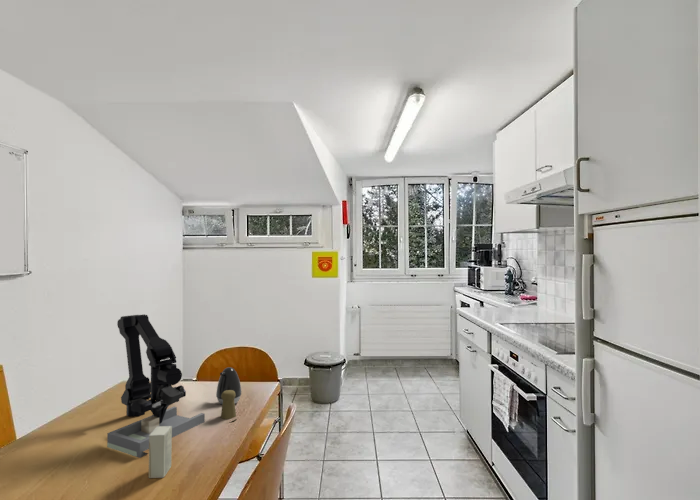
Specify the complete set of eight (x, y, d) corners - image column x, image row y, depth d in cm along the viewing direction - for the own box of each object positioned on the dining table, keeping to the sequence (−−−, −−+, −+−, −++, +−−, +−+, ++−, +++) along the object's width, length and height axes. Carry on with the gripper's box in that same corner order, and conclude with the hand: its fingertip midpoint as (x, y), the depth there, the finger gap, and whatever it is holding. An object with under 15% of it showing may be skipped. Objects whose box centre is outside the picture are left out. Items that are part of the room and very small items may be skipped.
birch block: (141, 431, 139) (141, 419, 140) (151, 427, 143) (151, 415, 143) (149, 433, 138) (149, 421, 138) (159, 429, 141) (159, 417, 141)
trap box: (107, 447, 131) (107, 433, 131) (173, 418, 155) (173, 406, 155) (139, 457, 124) (140, 443, 124) (204, 425, 148) (204, 413, 148)
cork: (231, 423, 149) (231, 394, 150) (217, 422, 151) (217, 393, 151) (239, 417, 155) (239, 388, 155) (225, 416, 157) (225, 387, 157)
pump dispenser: (210, 406, 167) (210, 369, 167) (227, 398, 177) (227, 363, 177) (230, 409, 163) (230, 372, 163) (246, 401, 173) (246, 365, 173)
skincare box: (156, 467, 119) (156, 425, 119) (172, 466, 119) (172, 425, 119) (147, 479, 112) (148, 435, 113) (164, 478, 113) (164, 434, 113)
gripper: (152, 390, 132) (152, 438, 132) (196, 375, 149) (196, 417, 149) (129, 386, 137) (129, 432, 137) (175, 371, 154) (175, 412, 153)
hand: (159, 423), depth 144 cm, fingers closed
